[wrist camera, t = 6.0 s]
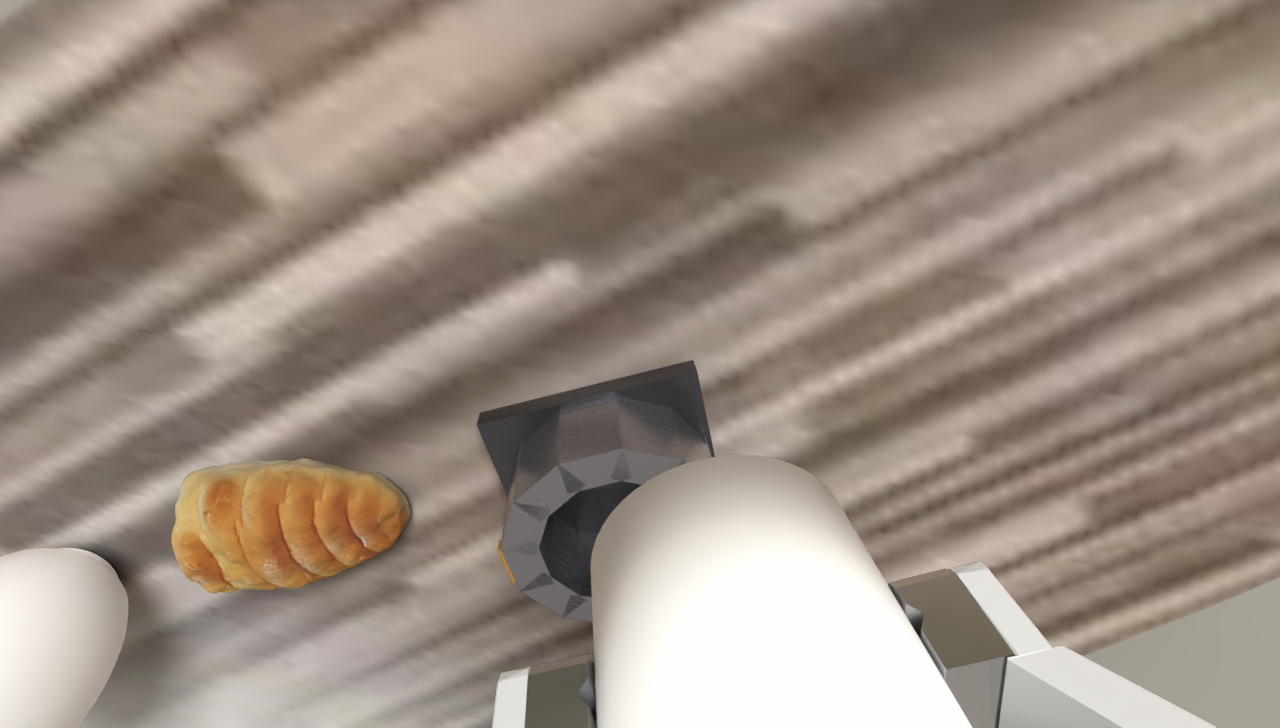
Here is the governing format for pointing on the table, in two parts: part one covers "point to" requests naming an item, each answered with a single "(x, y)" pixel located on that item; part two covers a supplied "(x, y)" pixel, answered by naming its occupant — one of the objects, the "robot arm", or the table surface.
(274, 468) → the pastry
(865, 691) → the cylinder with grey knob
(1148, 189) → the table surface
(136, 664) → the table surface
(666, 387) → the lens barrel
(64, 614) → the white air blower bulb
